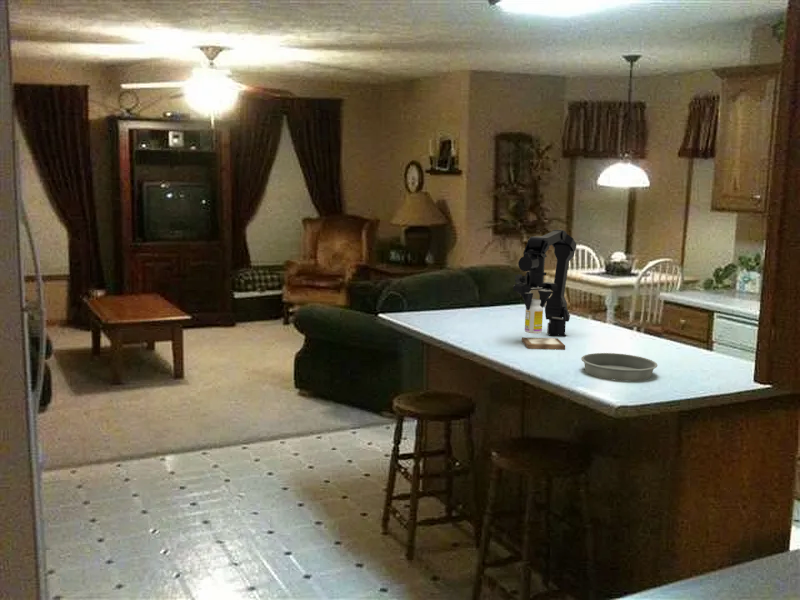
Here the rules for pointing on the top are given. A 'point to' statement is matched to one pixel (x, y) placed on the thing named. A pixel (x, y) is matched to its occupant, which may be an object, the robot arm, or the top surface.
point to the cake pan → (618, 366)
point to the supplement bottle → (534, 317)
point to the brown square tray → (543, 343)
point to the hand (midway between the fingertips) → (534, 309)
